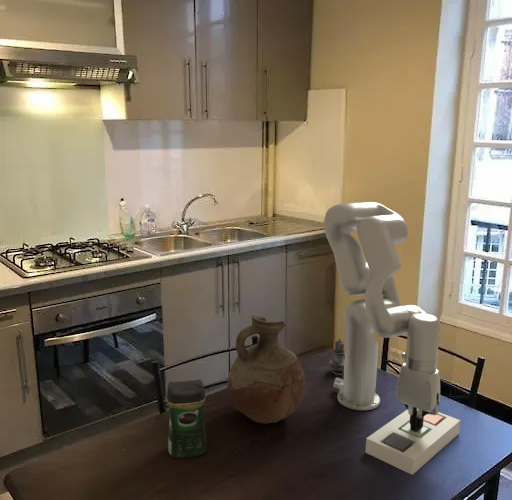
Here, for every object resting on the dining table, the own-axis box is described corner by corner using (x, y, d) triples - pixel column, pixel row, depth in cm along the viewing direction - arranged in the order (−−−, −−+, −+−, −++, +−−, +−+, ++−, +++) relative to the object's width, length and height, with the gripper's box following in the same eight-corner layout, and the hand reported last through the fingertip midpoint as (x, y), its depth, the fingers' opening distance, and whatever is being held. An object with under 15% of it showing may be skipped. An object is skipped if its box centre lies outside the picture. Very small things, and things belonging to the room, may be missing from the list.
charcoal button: (383, 450, 138) (384, 441, 137) (393, 442, 141) (394, 433, 141) (401, 459, 134) (402, 449, 134) (411, 450, 138) (412, 441, 137)
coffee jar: (204, 439, 144) (203, 373, 140) (208, 457, 137) (207, 388, 133) (166, 443, 142) (165, 376, 138) (168, 461, 135) (167, 391, 131)
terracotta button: (416, 425, 150) (417, 417, 149) (425, 418, 153) (426, 410, 153) (433, 432, 146) (434, 423, 146) (442, 425, 150) (443, 417, 149)
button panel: (365, 452, 140) (366, 438, 139) (414, 416, 158) (415, 403, 157) (412, 474, 131) (413, 459, 130) (458, 433, 149) (460, 420, 148)
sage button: (400, 436, 144) (401, 428, 143) (410, 429, 147) (410, 421, 147) (418, 444, 140) (419, 435, 140) (427, 437, 144) (428, 428, 143)
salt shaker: (346, 376, 182) (348, 342, 179) (328, 374, 183) (330, 340, 180) (347, 369, 188) (349, 336, 185) (330, 367, 189) (331, 334, 186)
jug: (320, 422, 154) (324, 319, 147) (258, 447, 141) (260, 337, 134) (271, 392, 170) (273, 299, 164) (212, 412, 158) (212, 313, 151)
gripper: (387, 358, 142) (382, 423, 145) (442, 376, 131) (436, 446, 135) (401, 350, 147) (397, 413, 151) (456, 367, 137) (450, 434, 141)
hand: (415, 428), depth 143 cm, fingers closed
